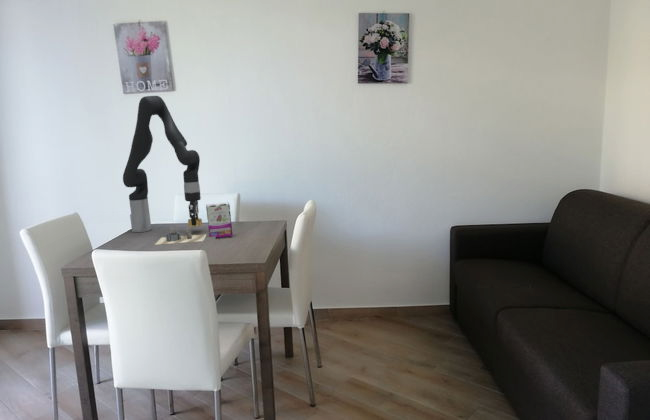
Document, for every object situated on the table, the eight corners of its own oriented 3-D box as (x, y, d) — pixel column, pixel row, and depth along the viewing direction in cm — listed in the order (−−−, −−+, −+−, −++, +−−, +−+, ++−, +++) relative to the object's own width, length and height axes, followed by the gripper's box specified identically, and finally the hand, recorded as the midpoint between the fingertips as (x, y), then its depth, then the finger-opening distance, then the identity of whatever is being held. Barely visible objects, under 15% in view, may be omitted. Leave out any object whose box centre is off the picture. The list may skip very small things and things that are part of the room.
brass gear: (187, 227, 231) (187, 221, 231) (189, 224, 238) (189, 218, 237) (200, 226, 232) (200, 220, 231) (202, 223, 238) (202, 217, 238)
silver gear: (165, 241, 219) (164, 235, 218) (168, 238, 225) (167, 232, 225) (179, 240, 220) (178, 234, 219) (181, 237, 226) (181, 231, 225)
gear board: (154, 247, 215) (152, 232, 214) (161, 239, 229) (160, 225, 227) (203, 243, 217) (201, 228, 216) (207, 236, 231) (205, 222, 230)
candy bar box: (232, 234, 233) (229, 202, 229) (232, 236, 228) (229, 203, 225) (209, 237, 230) (205, 204, 227) (209, 239, 225) (206, 205, 222)
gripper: (186, 189, 238) (189, 220, 241) (181, 193, 224) (184, 227, 227) (201, 188, 239) (204, 220, 242) (197, 192, 225) (200, 226, 228)
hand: (195, 223), depth 235 cm, fingers closed on brass gear, 6 cm apart
